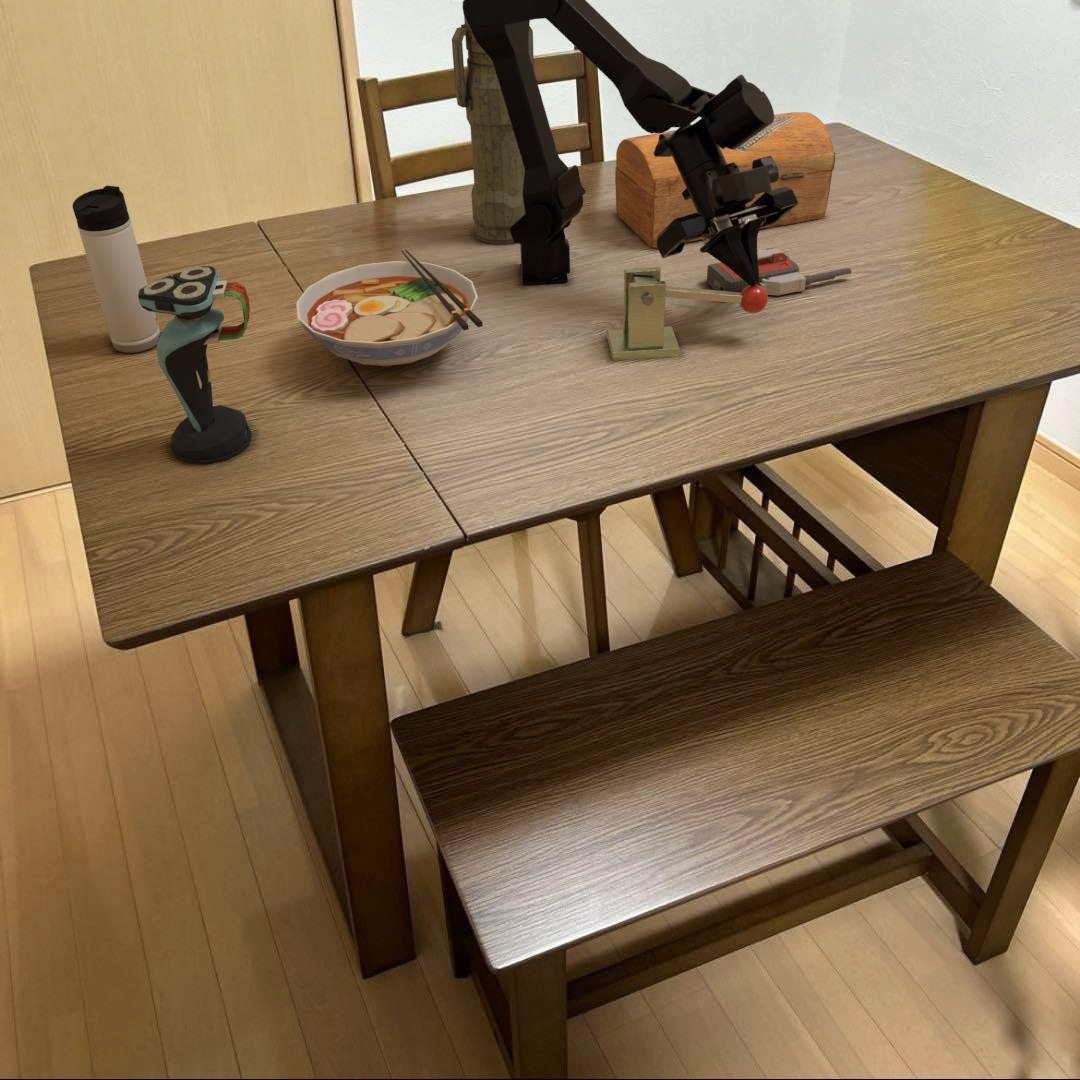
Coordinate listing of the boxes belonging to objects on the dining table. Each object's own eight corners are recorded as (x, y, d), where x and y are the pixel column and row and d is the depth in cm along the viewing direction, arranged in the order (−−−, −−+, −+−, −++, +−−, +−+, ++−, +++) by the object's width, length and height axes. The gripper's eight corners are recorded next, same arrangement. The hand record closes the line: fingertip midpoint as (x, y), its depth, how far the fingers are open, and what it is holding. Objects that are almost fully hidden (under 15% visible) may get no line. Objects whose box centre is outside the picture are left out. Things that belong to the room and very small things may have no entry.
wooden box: (778, 183, 187) (787, 97, 179) (829, 219, 175) (841, 129, 166) (610, 211, 180) (610, 123, 171) (651, 250, 168) (654, 157, 159)
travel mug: (172, 333, 151) (135, 187, 139) (143, 356, 146) (102, 207, 134) (133, 327, 153) (92, 182, 141) (103, 350, 148) (58, 202, 136)
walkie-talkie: (726, 309, 152) (853, 283, 157) (728, 279, 149) (858, 253, 155) (696, 283, 159) (819, 259, 164) (698, 254, 156) (823, 229, 161)
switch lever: (760, 306, 144) (767, 280, 142) (767, 319, 141) (774, 293, 139) (629, 295, 142) (633, 269, 140) (633, 308, 139) (638, 281, 137)
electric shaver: (178, 423, 133) (136, 265, 121) (278, 416, 134) (247, 258, 121) (164, 467, 126) (118, 303, 114) (270, 459, 127) (236, 296, 114)
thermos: (551, 232, 174) (545, -15, 152) (486, 252, 169) (470, -1, 147) (519, 214, 180) (509, -26, 158) (455, 233, 175) (436, -13, 153)
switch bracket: (671, 334, 147) (675, 264, 141) (679, 356, 142) (683, 285, 136) (606, 338, 147) (607, 268, 141) (612, 360, 142) (613, 289, 136)
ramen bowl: (283, 329, 151) (273, 272, 146) (444, 295, 158) (439, 239, 153) (332, 418, 133) (322, 357, 128) (511, 375, 140) (508, 315, 135)
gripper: (674, 153, 130) (729, 276, 129) (797, 121, 137) (849, 237, 137) (633, 199, 140) (683, 313, 139) (748, 166, 147) (797, 274, 147)
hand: (755, 283), depth 140 cm, fingers closed
